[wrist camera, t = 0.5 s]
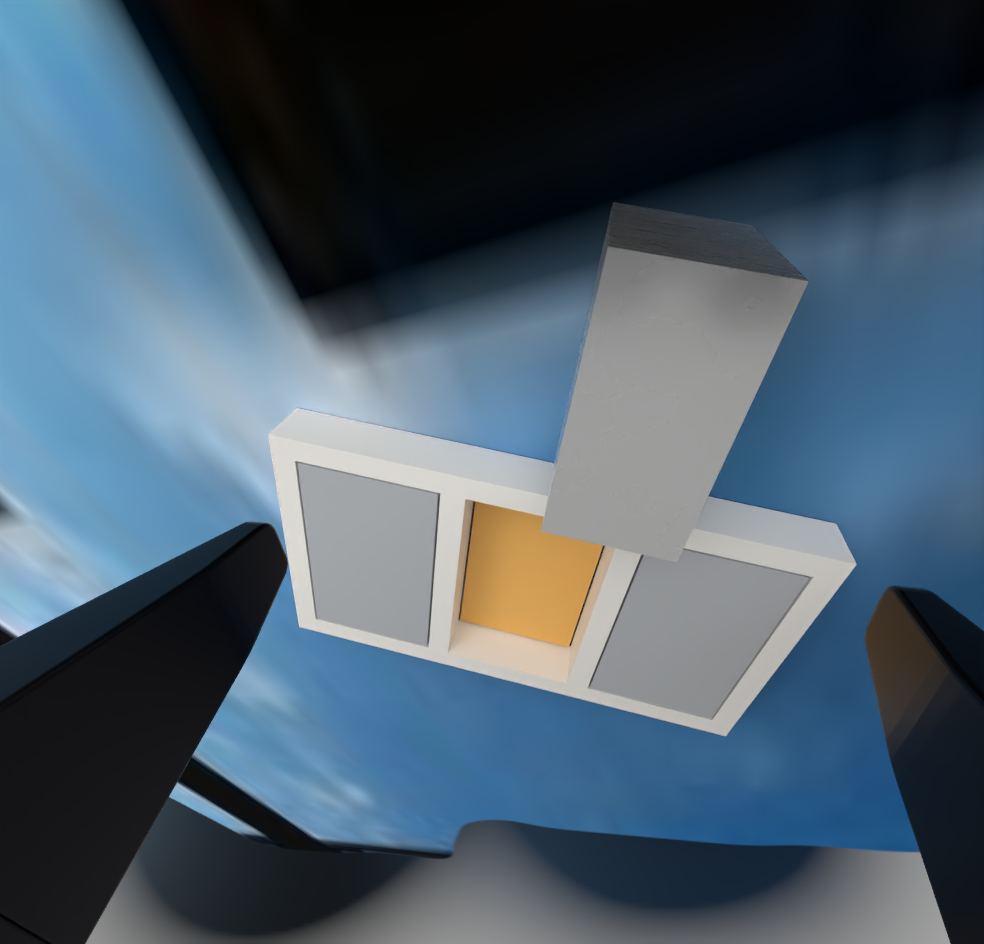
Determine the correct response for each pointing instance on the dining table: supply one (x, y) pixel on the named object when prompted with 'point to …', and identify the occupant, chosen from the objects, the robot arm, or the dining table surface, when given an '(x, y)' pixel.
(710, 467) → the grey block
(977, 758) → the robot arm
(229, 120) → the dining table surface
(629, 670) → the rack
